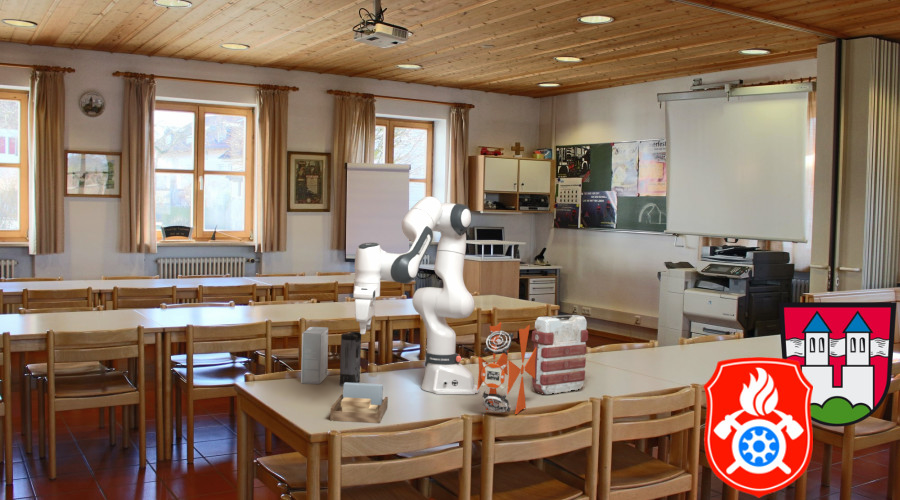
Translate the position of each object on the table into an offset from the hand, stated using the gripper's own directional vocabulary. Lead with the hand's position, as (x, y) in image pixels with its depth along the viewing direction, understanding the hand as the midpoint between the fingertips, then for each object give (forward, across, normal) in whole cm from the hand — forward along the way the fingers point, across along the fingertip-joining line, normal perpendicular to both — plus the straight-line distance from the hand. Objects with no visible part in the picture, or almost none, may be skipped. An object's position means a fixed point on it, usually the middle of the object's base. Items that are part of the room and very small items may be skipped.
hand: (365, 331), depth 267 cm
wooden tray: (+27, +5, 0) cm, 27 cm away
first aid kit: (+27, -44, +70) cm, 87 cm away
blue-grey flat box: (+27, 0, 0) cm, 27 cm away
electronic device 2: (+27, -10, +49) cm, 57 cm away
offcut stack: (+27, +9, 0) cm, 29 cm away
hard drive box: (+27, -43, -26) cm, 57 cm away
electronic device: (+27, -38, -11) cm, 48 cm away
